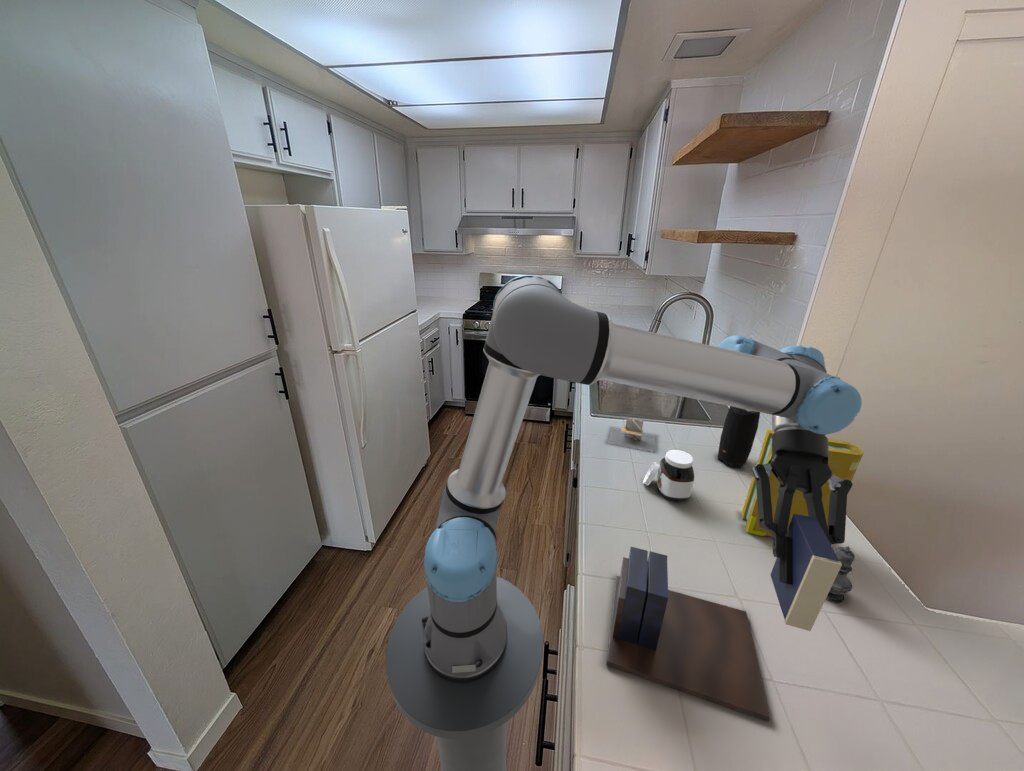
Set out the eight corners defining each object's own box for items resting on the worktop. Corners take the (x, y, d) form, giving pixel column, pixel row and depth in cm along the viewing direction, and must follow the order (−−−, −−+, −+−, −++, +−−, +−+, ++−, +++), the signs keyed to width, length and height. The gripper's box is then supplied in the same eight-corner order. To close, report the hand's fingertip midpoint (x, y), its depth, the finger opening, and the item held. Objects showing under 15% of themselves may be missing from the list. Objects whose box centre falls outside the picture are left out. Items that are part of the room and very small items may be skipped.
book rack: (606, 664, 65) (615, 607, 59) (616, 578, 80) (624, 527, 75) (768, 721, 57) (796, 662, 52) (745, 614, 73) (764, 560, 68)
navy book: (785, 624, 56) (814, 558, 51) (769, 574, 64) (793, 513, 58) (810, 631, 55) (842, 564, 50) (791, 580, 63) (817, 518, 58)
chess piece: (834, 608, 74) (856, 562, 70) (803, 584, 79) (822, 540, 75) (853, 598, 76) (875, 553, 72) (821, 575, 81) (841, 531, 77)
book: (746, 532, 92) (775, 443, 83) (740, 514, 98) (766, 429, 89) (829, 550, 88) (870, 457, 78) (818, 529, 94) (854, 441, 84)
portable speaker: (724, 469, 116) (739, 412, 108) (710, 452, 125) (723, 398, 117) (753, 470, 116) (770, 412, 108) (736, 453, 125) (751, 398, 117)
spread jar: (693, 504, 102) (702, 468, 97) (650, 503, 102) (657, 467, 97) (676, 476, 113) (683, 442, 108) (638, 476, 113) (643, 442, 108)
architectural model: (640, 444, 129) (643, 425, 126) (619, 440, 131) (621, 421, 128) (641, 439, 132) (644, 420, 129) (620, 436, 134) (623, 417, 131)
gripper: (844, 449, 65) (852, 600, 57) (738, 432, 70) (732, 570, 62) (871, 437, 58) (884, 607, 50) (752, 419, 63) (746, 572, 55)
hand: (800, 586), depth 56 cm, fingers closed on navy book, 3 cm apart
